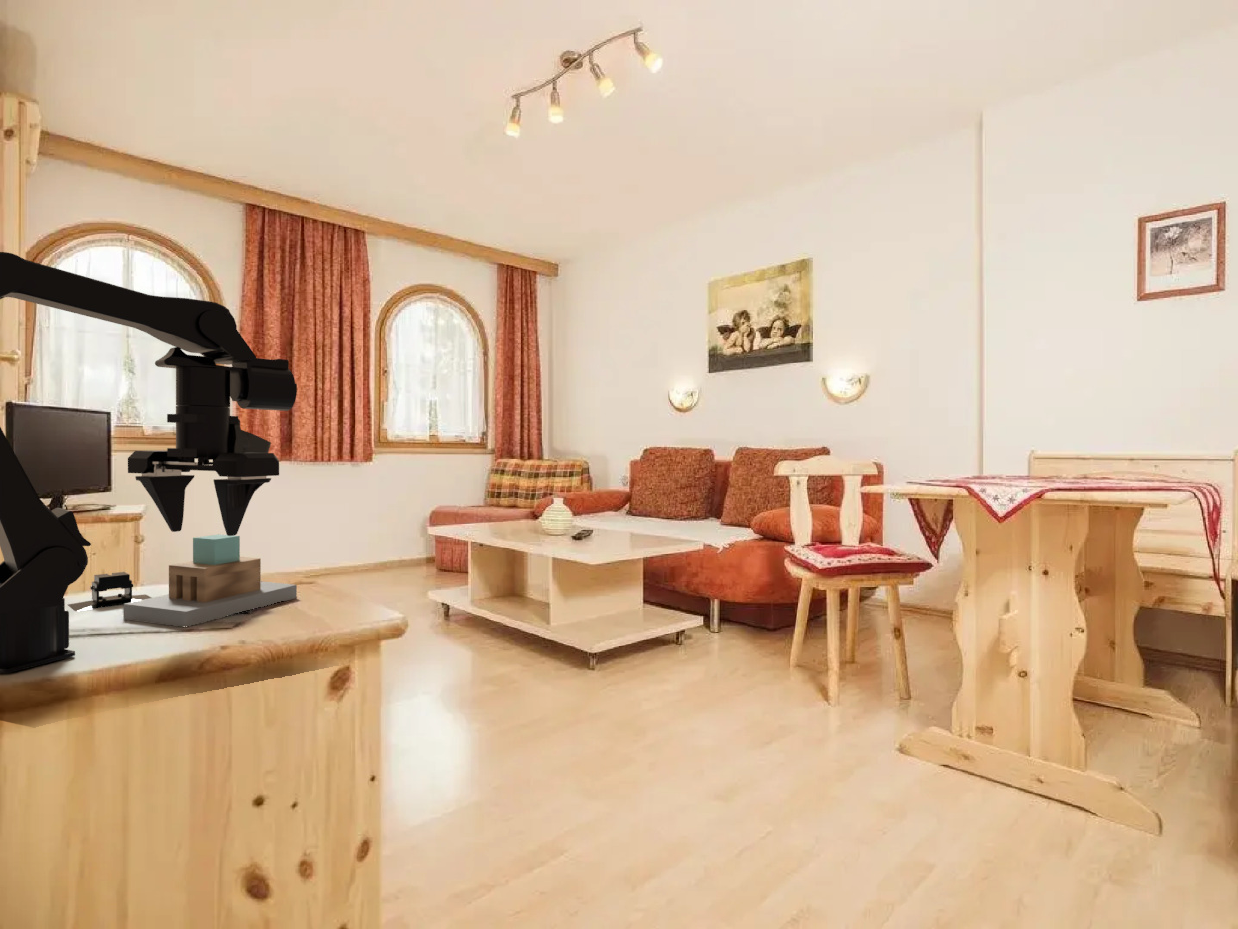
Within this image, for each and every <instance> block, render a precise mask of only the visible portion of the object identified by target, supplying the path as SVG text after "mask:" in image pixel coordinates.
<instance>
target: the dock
mask: <svg viewBox="0 0 1238 929" xmlns="http://www.w3.org/2000/svg"><path fill="white" fill-rule="evenodd" d="M297 587H298V586H297V584H293V583H282V582H273V581H272V582H271V581H261V589H260V590H256V591H252V592H247V593H243V594H239V595H235V596H230V597H226V598H222V599H217V600H213V601H209V602H197V599H196V600H192V601H188V600H183V598H179V599H171V598H169V593H168V594H164V595H159V596H158V595H157V596H155V597H152V598H149V599H144V600H139V601H134V602H130V603H125V604H123V605H122V606H123V609H122V610H123V611H122V612H123V614H122V615H123V620H126V621H127V620H129V621H134V622H135V621H137V622H141V623H142V622H143V623H150V624H157V625H158V624H159V625H164V624H165V625H164V626H171V625H174V626H173V627H178V626H185V627H184V628H187V627H186V626H189V627H192V626H191V625H193V626H195V625H194V624H197V625H200V624H199V623H201V624H204V623H208V622H211V621H210V620H212V621H214V620H213V619H216V620H219V619H223V618H226V617H225V616H227V615H230V614H233V613H238V614H240V613H239V612H242V611H245V610H249V609H253V608H257V609H259V608H258V607H261V608H265V607H268V606H272V605H275V604H274V603H276V604H278V603H277V602H280V603H282V602H281V601H284V602H287V601H290V600H295V599H297V593H298V592H297V589H298V588H297ZM271 604H272V605H271ZM267 605H268V606H267ZM264 606H265V607H264ZM253 610H254V609H253ZM242 613H243V612H242ZM222 617H223V618H222ZM227 617H228V616H227ZM207 621H208V622H207ZM203 622H204V623H203Z"/></svg>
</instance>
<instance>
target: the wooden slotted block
mask: <svg viewBox="0 0 1238 929" xmlns="http://www.w3.org/2000/svg"><path fill="white" fill-rule="evenodd" d="M260 589H261V558H259V557H245V556H240V561H234V562H229V563H223V564H218V565H209V564H199V563H193V560H192V561H191V560H190V561H187V562H186V561H185V562H180V563H175V564H174V563H173V564H169V565H168V594H169V598H171V599H179V598H183V600H188V601H192V600H196V599H197V602H209V601H213V600H217V599H222V598H226V597H230V596H235V595H239V594H243V593H247V592H252V591H256V590H260Z"/></svg>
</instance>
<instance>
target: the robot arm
mask: <svg viewBox="0 0 1238 929" xmlns="http://www.w3.org/2000/svg"><path fill="white" fill-rule="evenodd" d="M5 298H13V299H17V300H21V301H25V302H29V303H33V304H36V305H41V306H44V307H45V306H46V307H49V308H53V309H57V310H62V311H65V312H69V313H73V314H78V315H80V316H81V315H82V316H85V317H90V318H93V319H97V320H101V321H105V322H109V323H113V324H117V325H122V326H125V327H130V328H132V329H137V330H139V331H141V332H144V333H145V334H148V335H150V336H151V337H152V338H155V339H157V340H159V341H161V342H163V343H166V344H168V345H171V346H173V347H171V348H169V350H168V351H167V352H166V354H165V355H163V356H162V357H161V358H159V359H157V360H156V361H155V362H154V364H155V366H156V367H158V368H165V369H166V368H168V369H175V413H167V414H166V422H167V423H170V424H171V423H175V447H167V448H166V449H167V450H134V451H133V452H132V454H130V455H129V456H128V457H127V474H141V475H136V476H135V480H136V481H138V482H140V483H141V485H142V486H143V488H144V489H145V490H146V492H147V494H148V495H149V496H150V498H151V499H152V501H153V503H154V504H155V506H156V508H157V509H158V511H159V513H160V514H161V516H162V518H163V519H164V521H165V523H166V525H167V527H168V528H169V530H170V531H171V532H174V533H175V532H176V533H178V532H181V531H182V528H183V522H184V515H185V514H184V513H185V512H184V511H185V496H186V488H187V487H188V486H189V485H190V483H191V481H193V479H194V478H195V474H193V475H192V474H182V473H190V472H191V471H207V472H216V474H218V477H227V478H221V479H220V478H219V479H218V478H217V479H213V485H214V488H215V490H214V491H215V493H216V497H217V502H218V507H219V510H220V515H221V519H222V524H223V528H224V531H225V533H226V534H225V535H228V536H237V534H238V532H239V529H240V527H241V525H242V523H243V519H244V517H245V514H246V511H247V510H248V506H249V504H250V501H251V499H252V498H253V496H254V494H255V492H256V491H257V490H258V489H259V488H260V487H262V486H263V485H264V484H267V483H270V482H271V480H272V478H271V477H272V476H280V459H279V458H278V457H277V456H276V454H274V453H273V452H269V451H270V448H271V444H272V443H271V441H269V440H266V439H265V438H263V437H261V436H258V435H256V434H254V433H252V432H248V431H246V430H244V429H241V420H240V419H239V415H231V401H232V402H236V403H237V406H238V407H239V408H241V409H244V410H260V411H261V410H264V411H265V410H266V411H283V412H284V411H285V412H287V411H290V410H291V409H292V408H293V407H294V405H295V402H296V400H297V399H296V398H297V394H298V392H297V391H298V384H297V383H296V380H295V377H294V373H293V372H292V370H290V369H289V367H290V366H289V364H290V362H289V360H288V359H283V358H275V359H269V358H262V357H261V358H260V357H257V356H256V354H255V353H254V352H253V350H252V348H251V347H250V346H249V345H248V343H247V342H246V340H245V339H244V338H243V336H242V335H241V334H240V332H239V331H238V329H237V328H238V326H237V322H236V320H235V318H234V316H233V315H232V313H231V312H230V310H229V309H228V308H227V307H226V306H224V305H222V304H220V303H218V302H215V301H210V300H209V301H208V300H202V299H195V298H194V299H193V298H188V297H175V296H174V297H173V296H159V295H153V294H148V293H147V294H146V293H143V292H140V291H137V290H134V289H130V288H126V287H122V286H119V285H115V284H112V283H108V282H105V281H102V280H98V279H94V278H92V277H87V276H83V275H80V274H76V273H73V272H70V271H67V270H62V269H59V268H56V267H53V266H48V265H46V264H42V263H38V262H35V261H32V260H31V261H30V260H28V259H25V258H23V257H21V256H19V255H17V254H16V253H15V254H14V253H12V252H7V251H0V300H2V299H5ZM184 351H185V352H188V353H191V354H186V353H185V352H184ZM193 354H194V355H193ZM195 354H200V355H195ZM228 365H231V366H228ZM195 459H196V460H197V462H196V461H195ZM210 460H212V461H210ZM269 476H270V477H269ZM90 546H92V543H91V541H89V540H87V539H86V538H85V537H84V536H83V535H82V533H81V531H80V529H79V527H78V523H77V520H76V517H75V514H74V511H72V510H68V509H64V508H60V507H56V508H54V509H50V508H49V507H48V506H47V505H46V504H45V503H44V502H43V501H42V500H41V498H40V497H39V495H38V493H37V491H36V489H35V487H34V486H33V484H32V482H31V479H29V477H28V475H27V473H26V471H25V469H24V467H23V466H22V463H21V462H20V460H19V458H18V457H17V454H16V453H15V451H14V450H13V447H12V446H11V444H10V442H9V440H8V438H7V436H6V435H5V433H4V431H3V429H2V427H1V426H0V550H1V553H2V554H1V555H2V557H3V561H2V562H0V674H10V673H14V672H19V671H22V670H26V669H30V668H34V667H38V666H42V665H45V664H49V663H53V662H56V661H57V662H58V661H61V660H64V659H67V658H72V657H75V656H76V651H75V650H71V649H68V648H69V647H70V611H69V610H67V609H66V608H65V607H66V606H65V605H66V602H65V600H66V599H65V598H64V597H65V594H66V591H67V590H68V588H69V586H70V585H71V584H73V583H75V582H76V581H77V580H79V578H80V577H81V576H83V574H84V572H85V570H86V568H87V566H88V563H89V556H88V553H87V550H86V549H85V548H84V547H90Z"/></svg>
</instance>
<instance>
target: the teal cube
mask: <svg viewBox="0 0 1238 929" xmlns="http://www.w3.org/2000/svg"><path fill="white" fill-rule="evenodd" d="M240 539H241V537H240V535H234V536H228V535H227V534H211V535H204V536H196V537H193V538H192V561H193V563H199V564H209V565H218V564H223V563H229V562H234V561H240V557H241V556H240V555H241V554H240V553H241V552H240V547H241V546H240V544H241V542H240Z"/></svg>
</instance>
